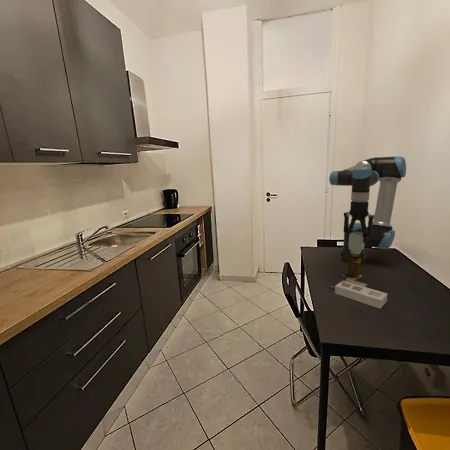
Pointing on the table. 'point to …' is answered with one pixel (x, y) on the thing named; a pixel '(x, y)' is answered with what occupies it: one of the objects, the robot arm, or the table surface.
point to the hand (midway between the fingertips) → (356, 247)
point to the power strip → (361, 294)
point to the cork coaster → (356, 282)
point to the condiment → (353, 267)
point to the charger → (355, 242)
